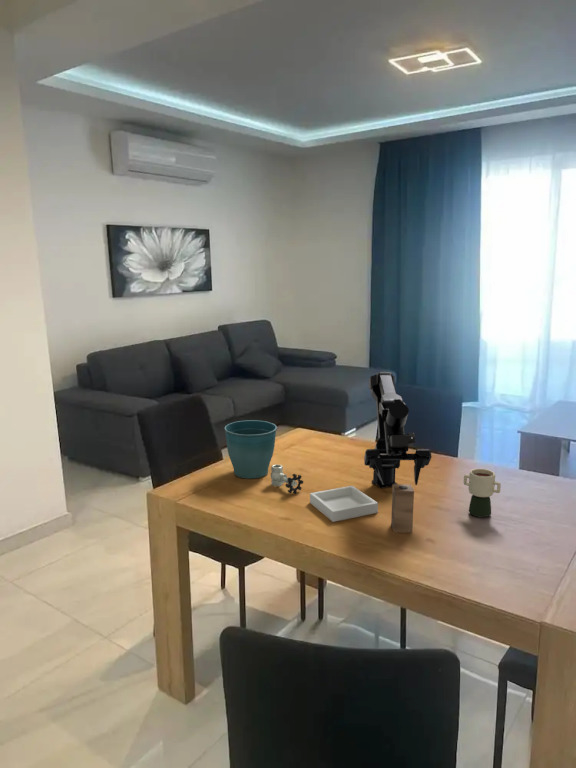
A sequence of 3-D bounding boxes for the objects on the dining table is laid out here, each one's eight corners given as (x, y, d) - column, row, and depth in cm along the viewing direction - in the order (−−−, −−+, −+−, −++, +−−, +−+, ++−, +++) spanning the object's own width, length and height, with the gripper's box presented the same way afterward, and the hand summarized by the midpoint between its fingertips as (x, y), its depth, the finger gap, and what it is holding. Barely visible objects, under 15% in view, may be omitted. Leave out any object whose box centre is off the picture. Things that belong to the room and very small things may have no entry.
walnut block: (391, 524, 164) (392, 483, 161) (408, 524, 164) (410, 484, 161) (394, 532, 159) (395, 490, 157) (412, 532, 159) (414, 490, 156)
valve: (265, 485, 193) (287, 496, 184) (265, 466, 192) (287, 476, 183) (281, 480, 197) (303, 491, 188) (281, 462, 196) (303, 472, 187)
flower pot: (286, 470, 207) (286, 424, 203) (257, 486, 192) (256, 437, 189) (246, 461, 216) (245, 417, 213) (215, 476, 202) (213, 429, 198)
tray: (352, 494, 185) (352, 485, 184) (377, 512, 171) (377, 502, 171) (309, 502, 179) (309, 493, 178) (332, 521, 166) (333, 511, 165)
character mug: (502, 515, 169) (505, 473, 166) (493, 523, 164) (496, 480, 161) (467, 505, 176) (469, 465, 173) (456, 513, 171) (459, 471, 168)
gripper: (366, 422, 166) (369, 472, 157) (431, 422, 165) (438, 472, 157) (362, 440, 175) (365, 488, 166) (424, 440, 175) (431, 489, 166)
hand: (400, 484), depth 164 cm, fingers open, 9 cm apart
